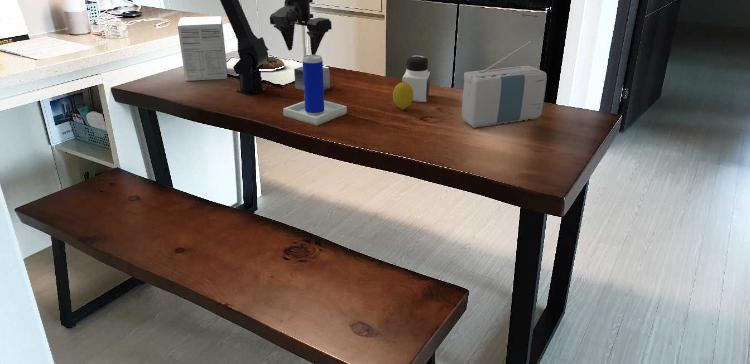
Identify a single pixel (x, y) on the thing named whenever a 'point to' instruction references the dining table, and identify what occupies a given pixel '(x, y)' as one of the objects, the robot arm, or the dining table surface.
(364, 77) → the dining table surface
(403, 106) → the lemon
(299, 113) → the tray
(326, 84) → the box
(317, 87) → the beverage can
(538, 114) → the stereo radio cassette player
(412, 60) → the medicine bottle
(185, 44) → the supplement box
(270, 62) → the bread roll
